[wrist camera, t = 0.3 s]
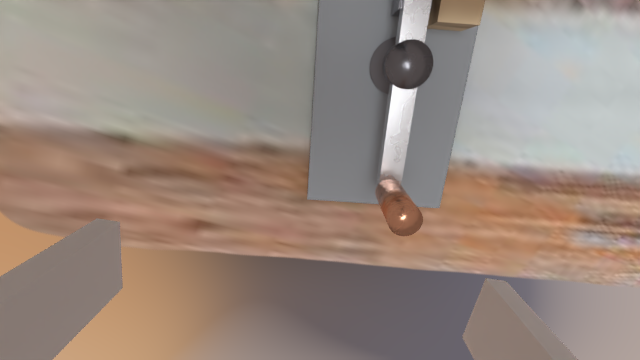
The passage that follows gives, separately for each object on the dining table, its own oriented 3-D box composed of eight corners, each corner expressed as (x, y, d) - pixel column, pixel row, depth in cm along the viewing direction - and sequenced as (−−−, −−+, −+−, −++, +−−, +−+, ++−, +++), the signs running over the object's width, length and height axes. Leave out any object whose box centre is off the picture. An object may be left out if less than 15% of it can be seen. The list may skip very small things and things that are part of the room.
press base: (321, -25, 32) (320, -41, 27) (480, -13, 32) (504, -26, 28) (307, 194, 40) (306, 208, 35) (435, 203, 40) (448, 218, 36)
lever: (387, -12, 30) (421, -60, 20) (431, -9, 30) (488, -55, 20) (362, 190, 37) (378, 234, 27) (398, 192, 37) (427, 237, 27)
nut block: (430, -15, 31) (446, -29, 27) (469, -12, 31) (490, -25, 27) (423, 28, 32) (437, 21, 28) (461, 31, 32) (479, 24, 28)
